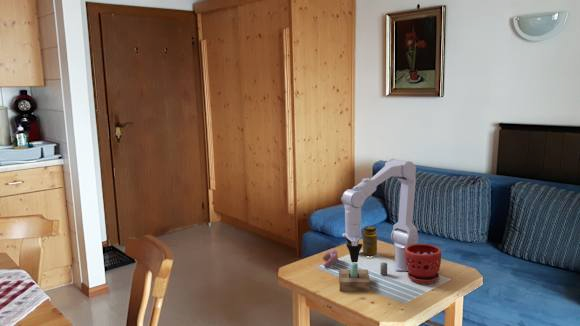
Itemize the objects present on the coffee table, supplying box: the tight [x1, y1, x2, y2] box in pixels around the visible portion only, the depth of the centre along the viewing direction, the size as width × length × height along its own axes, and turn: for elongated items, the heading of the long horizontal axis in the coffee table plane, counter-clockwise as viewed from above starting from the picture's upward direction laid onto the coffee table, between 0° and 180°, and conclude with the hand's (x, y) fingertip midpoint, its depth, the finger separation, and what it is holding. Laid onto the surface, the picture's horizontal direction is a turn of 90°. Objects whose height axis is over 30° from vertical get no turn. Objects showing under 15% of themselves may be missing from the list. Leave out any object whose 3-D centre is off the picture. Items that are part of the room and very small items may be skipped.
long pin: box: [349, 262, 359, 278], centre depth 179 cm, size 3×3×8 cm
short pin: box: [379, 262, 388, 277], centre depth 187 cm, size 3×3×4 cm
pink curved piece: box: [322, 248, 339, 269], centre depth 200 cm, size 10×5×7 cm, turn 179°
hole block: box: [338, 269, 371, 292], centre depth 179 cm, size 11×11×4 cm
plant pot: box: [405, 243, 442, 284], centre depth 182 cm, size 13×13×12 cm
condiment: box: [359, 225, 381, 260], centre depth 209 cm, size 7×8×12 cm
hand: (353, 258), depth 178 cm, fingers open, 7 cm apart
